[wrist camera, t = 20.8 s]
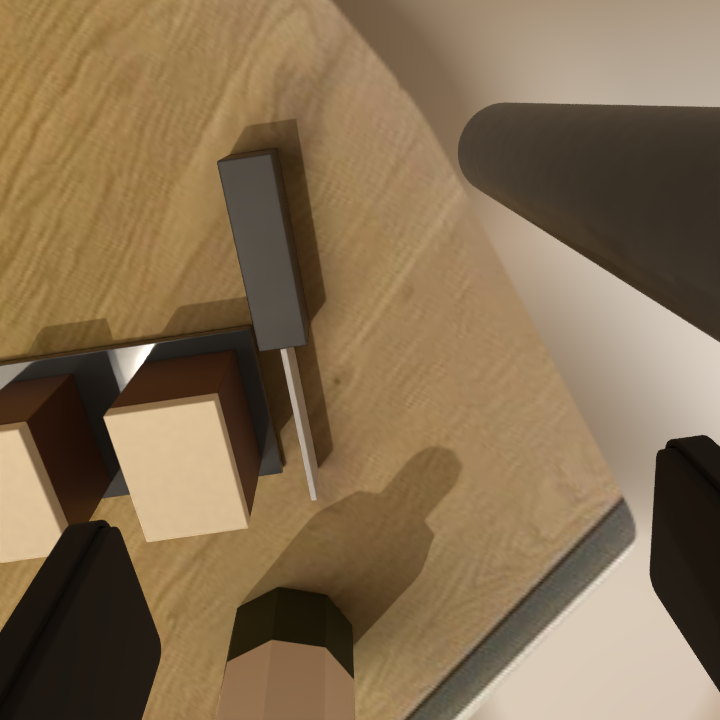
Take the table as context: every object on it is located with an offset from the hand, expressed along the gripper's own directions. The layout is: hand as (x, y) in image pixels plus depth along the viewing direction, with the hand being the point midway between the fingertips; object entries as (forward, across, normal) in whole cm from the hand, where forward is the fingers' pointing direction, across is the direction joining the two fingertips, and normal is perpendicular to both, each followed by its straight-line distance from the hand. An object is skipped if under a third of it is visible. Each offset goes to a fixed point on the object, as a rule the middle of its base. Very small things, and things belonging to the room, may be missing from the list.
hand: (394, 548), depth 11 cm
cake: (+22, +10, +8) cm, 25 cm away
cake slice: (+22, +18, +8) cm, 29 cm away
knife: (+22, +4, +4) cm, 23 cm away
